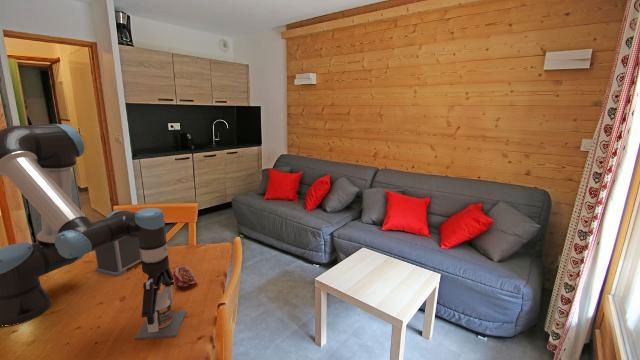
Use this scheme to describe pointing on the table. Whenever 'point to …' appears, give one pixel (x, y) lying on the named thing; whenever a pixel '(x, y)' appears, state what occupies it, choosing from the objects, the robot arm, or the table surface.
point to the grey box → (117, 256)
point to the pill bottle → (163, 310)
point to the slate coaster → (166, 331)
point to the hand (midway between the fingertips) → (161, 316)
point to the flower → (183, 276)
